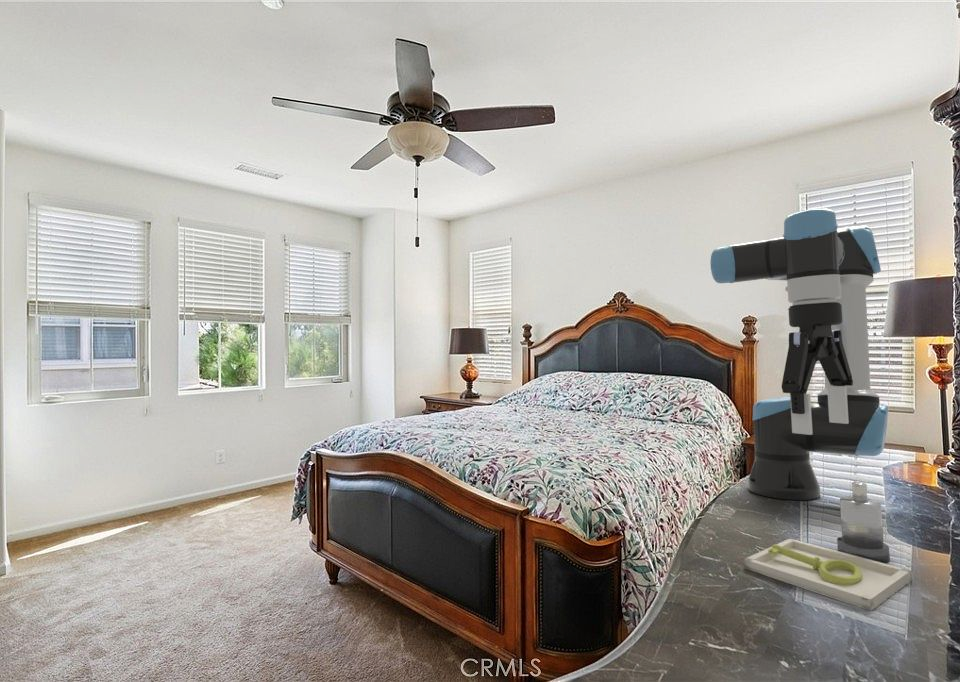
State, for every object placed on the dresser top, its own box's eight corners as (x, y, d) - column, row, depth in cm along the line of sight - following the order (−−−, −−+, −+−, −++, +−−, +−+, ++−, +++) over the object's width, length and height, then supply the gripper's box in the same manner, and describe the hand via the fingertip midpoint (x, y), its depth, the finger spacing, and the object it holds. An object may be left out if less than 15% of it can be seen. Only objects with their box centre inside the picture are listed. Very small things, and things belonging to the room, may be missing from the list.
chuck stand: (848, 544, 89) (844, 476, 90) (896, 556, 84) (892, 484, 84) (830, 553, 86) (826, 482, 86) (880, 567, 80) (875, 491, 80)
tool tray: (790, 546, 89) (789, 538, 89) (911, 580, 75) (911, 570, 75) (744, 568, 81) (743, 559, 81) (871, 610, 67) (870, 599, 67)
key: (770, 555, 84) (770, 542, 85) (862, 572, 77) (861, 558, 77) (764, 570, 79) (764, 556, 79) (863, 590, 71) (862, 575, 71)
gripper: (822, 305, 95) (829, 417, 95) (752, 304, 81) (760, 435, 81) (870, 301, 89) (877, 420, 89) (803, 300, 75) (811, 441, 75)
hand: (821, 428), depth 85 cm, fingers open, 13 cm apart
